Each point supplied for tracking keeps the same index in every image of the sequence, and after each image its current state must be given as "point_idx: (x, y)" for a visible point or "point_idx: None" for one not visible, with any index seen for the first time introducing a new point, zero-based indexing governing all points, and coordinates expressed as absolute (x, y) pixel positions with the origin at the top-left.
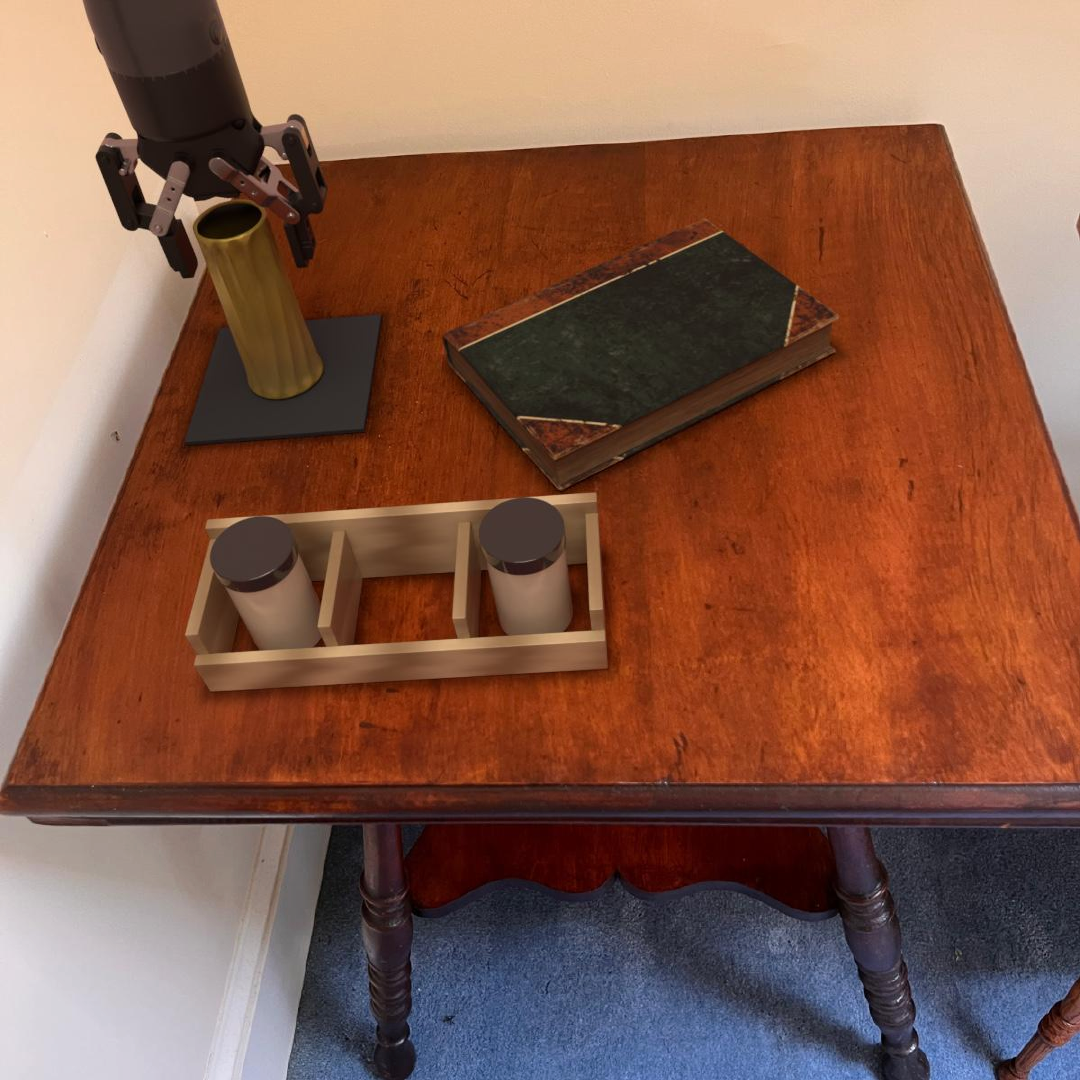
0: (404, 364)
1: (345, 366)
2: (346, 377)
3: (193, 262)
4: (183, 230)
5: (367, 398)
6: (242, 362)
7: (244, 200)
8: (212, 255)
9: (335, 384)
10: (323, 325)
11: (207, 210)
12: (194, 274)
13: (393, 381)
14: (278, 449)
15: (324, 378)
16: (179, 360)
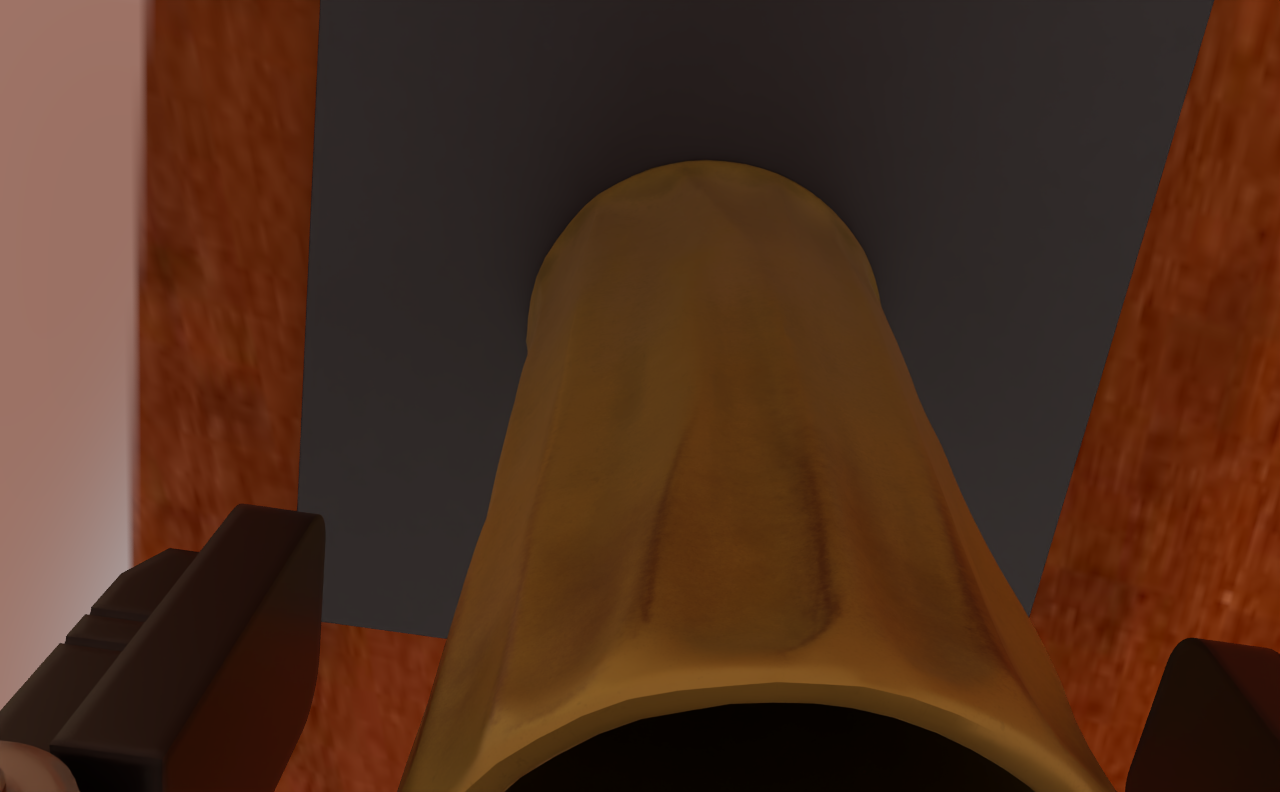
0: (1234, 361)
1: (978, 342)
2: (973, 416)
3: (303, 614)
4: (206, 741)
5: (1042, 565)
6: (485, 181)
7: (956, 739)
8: None
9: None
10: None
11: (484, 788)
12: (319, 644)
13: (1161, 456)
14: None
15: None
16: (147, 32)
